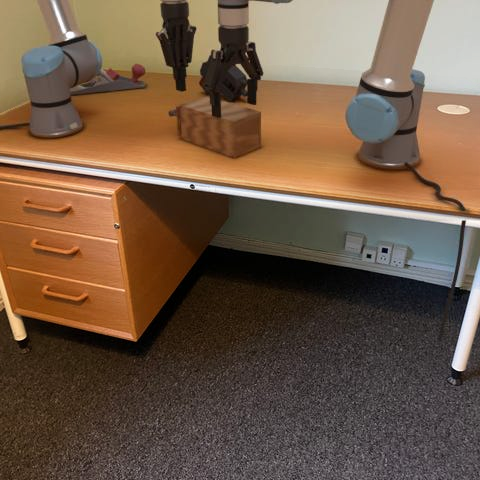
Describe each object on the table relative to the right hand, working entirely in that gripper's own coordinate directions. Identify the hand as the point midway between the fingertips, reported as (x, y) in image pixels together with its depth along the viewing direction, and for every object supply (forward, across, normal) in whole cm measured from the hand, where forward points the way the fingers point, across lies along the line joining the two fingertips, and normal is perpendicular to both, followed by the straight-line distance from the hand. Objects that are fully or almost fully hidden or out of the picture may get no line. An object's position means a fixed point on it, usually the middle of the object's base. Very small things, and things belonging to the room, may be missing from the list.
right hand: (234, 110), depth 141 cm
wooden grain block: (+11, 0, -6) cm, 12 cm away
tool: (+11, -31, -35) cm, 49 cm away
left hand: (-1, 0, -21) cm, 21 cm away
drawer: (+10, 0, -11) cm, 15 cm away
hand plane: (+12, -10, -76) cm, 78 cm away
